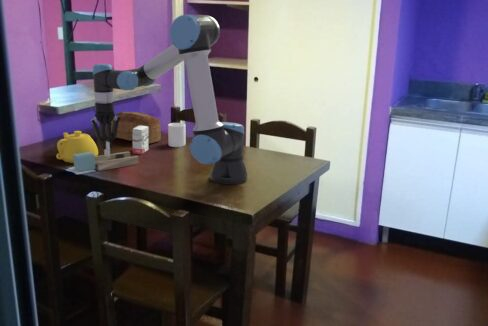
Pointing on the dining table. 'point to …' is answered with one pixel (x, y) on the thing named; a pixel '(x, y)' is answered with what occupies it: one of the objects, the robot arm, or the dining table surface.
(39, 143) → the dining table surface
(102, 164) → the chute
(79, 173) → the pad
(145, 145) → the ink box
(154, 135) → the bread
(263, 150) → the dining table surface
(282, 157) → the dining table surface
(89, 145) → the teapot
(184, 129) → the mug
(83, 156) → the block
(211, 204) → the dining table surface
